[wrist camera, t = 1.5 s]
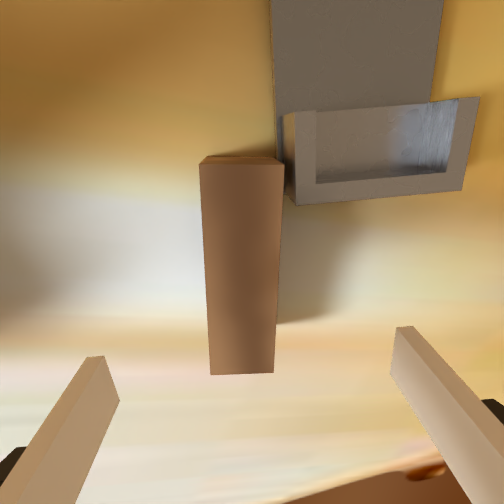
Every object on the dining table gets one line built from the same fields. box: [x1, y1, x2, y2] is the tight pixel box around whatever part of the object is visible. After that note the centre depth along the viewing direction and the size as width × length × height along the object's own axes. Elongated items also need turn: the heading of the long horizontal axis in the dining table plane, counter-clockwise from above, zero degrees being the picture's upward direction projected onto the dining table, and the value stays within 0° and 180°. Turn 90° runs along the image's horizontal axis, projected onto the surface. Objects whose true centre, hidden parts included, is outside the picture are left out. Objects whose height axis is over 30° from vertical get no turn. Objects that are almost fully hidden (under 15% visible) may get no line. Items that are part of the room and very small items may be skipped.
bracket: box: [269, 0, 480, 206], centre depth 17 cm, size 11×22×6 cm, turn 4°
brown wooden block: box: [199, 156, 285, 375], centre depth 23 cm, size 5×16×6 cm, turn 179°
